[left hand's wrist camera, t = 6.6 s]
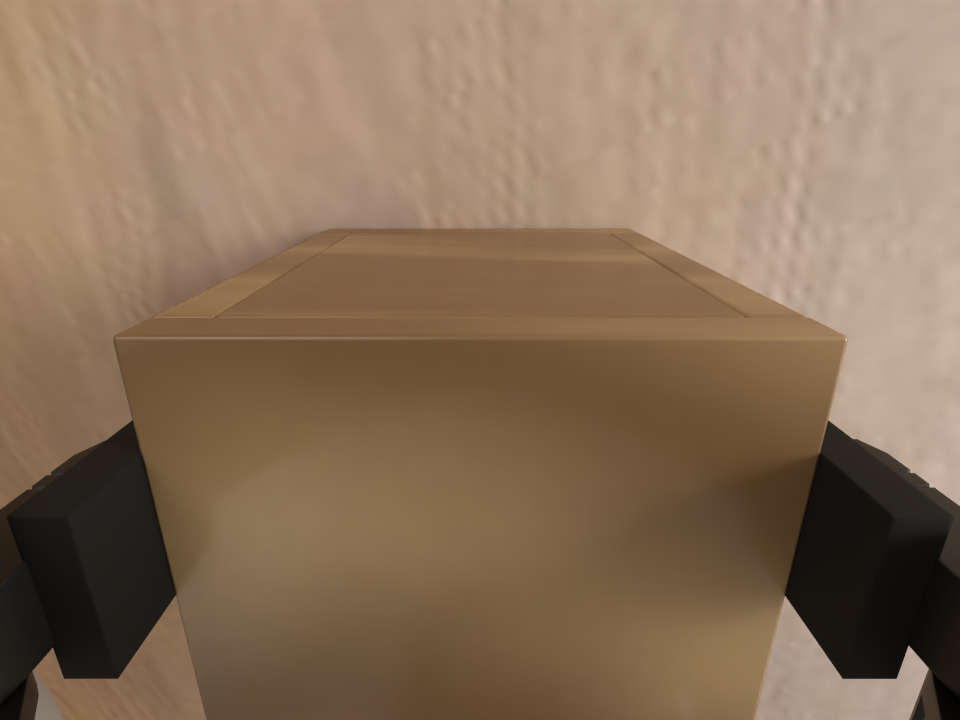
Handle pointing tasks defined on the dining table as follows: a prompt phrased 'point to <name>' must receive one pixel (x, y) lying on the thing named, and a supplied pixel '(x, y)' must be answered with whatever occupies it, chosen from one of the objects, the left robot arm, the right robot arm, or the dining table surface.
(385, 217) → the dining table surface
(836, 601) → the left robot arm
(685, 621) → the cabinet
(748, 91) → the dining table surface
